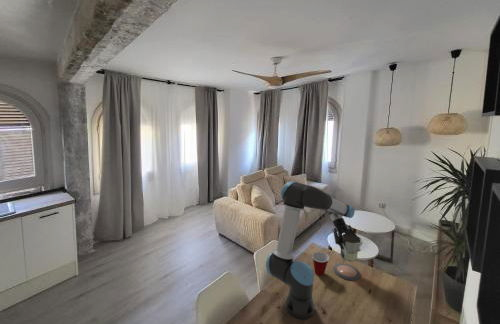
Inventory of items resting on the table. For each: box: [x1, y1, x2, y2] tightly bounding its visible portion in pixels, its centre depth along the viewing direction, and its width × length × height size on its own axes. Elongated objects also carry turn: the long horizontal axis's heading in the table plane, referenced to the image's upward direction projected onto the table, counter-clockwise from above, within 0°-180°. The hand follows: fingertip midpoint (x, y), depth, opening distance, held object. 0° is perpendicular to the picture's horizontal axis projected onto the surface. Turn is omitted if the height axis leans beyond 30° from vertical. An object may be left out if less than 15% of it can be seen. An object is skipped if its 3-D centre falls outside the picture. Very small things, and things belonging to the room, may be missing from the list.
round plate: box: [333, 262, 361, 281], centre depth 154 cm, size 16×16×1 cm
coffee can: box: [339, 233, 360, 263], centre depth 151 cm, size 10×10×14 cm
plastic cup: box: [311, 251, 330, 276], centre depth 152 cm, size 11×11×12 cm
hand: (352, 252), depth 149 cm, fingers closed on coffee can, 10 cm apart
